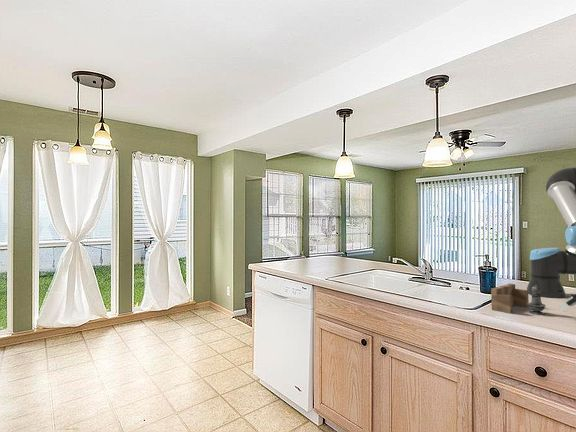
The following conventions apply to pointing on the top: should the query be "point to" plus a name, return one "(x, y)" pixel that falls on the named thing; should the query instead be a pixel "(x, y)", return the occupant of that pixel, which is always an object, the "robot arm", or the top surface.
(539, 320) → the top surface
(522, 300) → the brown wooden u-shaped block
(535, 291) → the grey chess piece
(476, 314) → the top surface
